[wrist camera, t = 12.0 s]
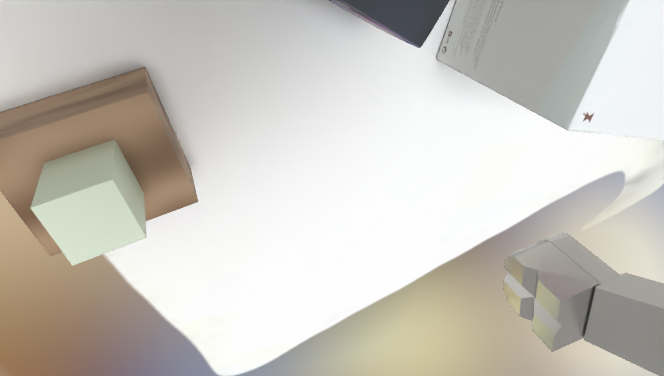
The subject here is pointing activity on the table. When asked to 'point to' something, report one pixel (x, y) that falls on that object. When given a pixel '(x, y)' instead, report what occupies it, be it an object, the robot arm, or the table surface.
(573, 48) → the supplement box
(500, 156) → the table surface
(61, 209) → the sage block
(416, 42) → the small box
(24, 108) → the walnut block
